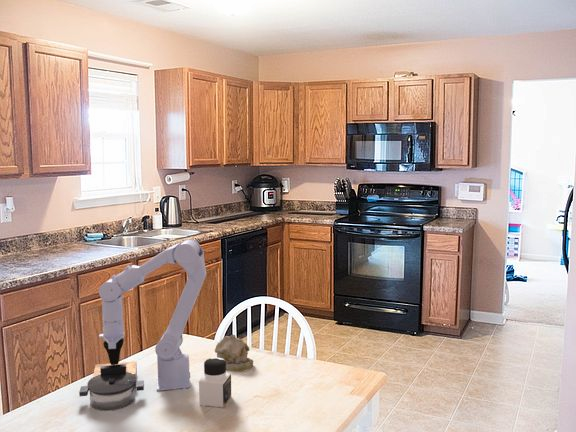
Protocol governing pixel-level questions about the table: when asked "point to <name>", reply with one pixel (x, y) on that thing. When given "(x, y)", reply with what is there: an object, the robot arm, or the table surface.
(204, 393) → the medicine bottle
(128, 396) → the cooker
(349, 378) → the table surface
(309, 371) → the table surface
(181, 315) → the robot arm
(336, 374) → the table surface
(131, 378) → the lid
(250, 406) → the table surface
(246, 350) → the ceramic model
